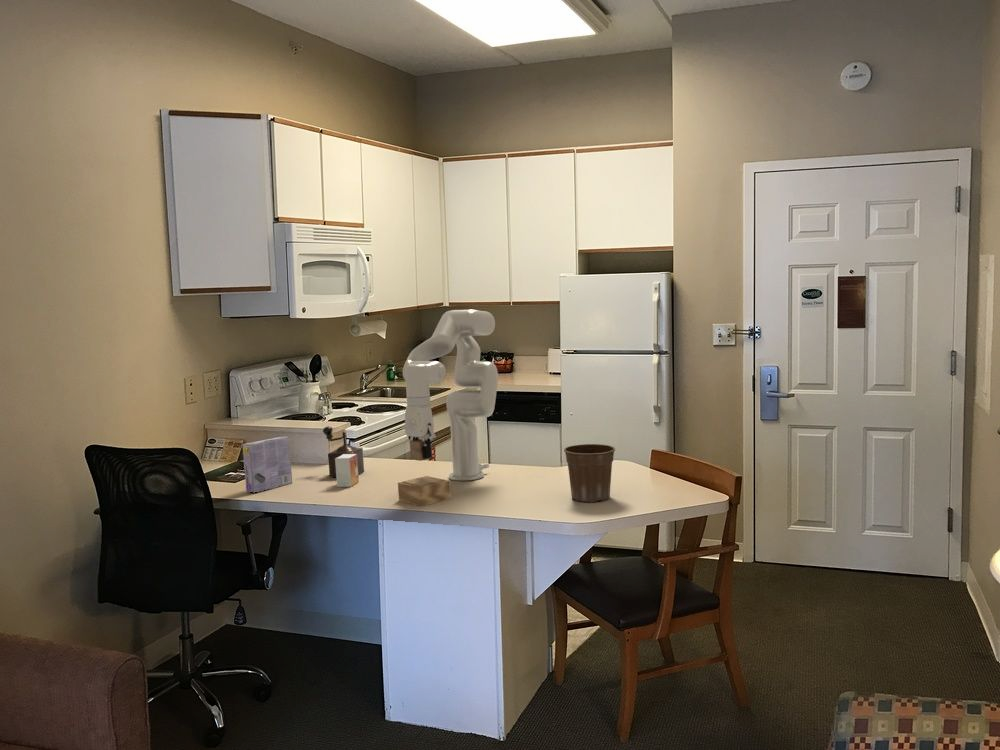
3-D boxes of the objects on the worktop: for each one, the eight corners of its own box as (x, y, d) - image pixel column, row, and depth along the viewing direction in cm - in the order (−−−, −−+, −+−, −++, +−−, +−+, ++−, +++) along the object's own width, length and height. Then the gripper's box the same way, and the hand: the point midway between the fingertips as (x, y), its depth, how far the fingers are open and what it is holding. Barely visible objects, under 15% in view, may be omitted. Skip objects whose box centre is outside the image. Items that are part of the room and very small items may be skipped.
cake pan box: (286, 481, 338) (282, 434, 337) (295, 482, 336) (292, 435, 334) (244, 493, 323) (240, 443, 321) (254, 494, 320) (250, 444, 318)
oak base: (427, 493, 308) (426, 475, 307) (450, 498, 299) (449, 479, 298) (398, 500, 300) (397, 481, 299) (421, 506, 291) (419, 486, 290)
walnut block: (422, 456, 301) (421, 438, 301) (432, 458, 298) (431, 439, 297) (410, 458, 298) (409, 440, 297) (420, 460, 294) (419, 442, 294)
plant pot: (619, 492, 297) (617, 443, 295) (614, 504, 281) (612, 453, 279) (570, 491, 300) (567, 443, 298) (562, 504, 285) (560, 453, 283)
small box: (351, 487, 323) (349, 458, 322) (336, 487, 325) (334, 458, 323) (359, 482, 331) (357, 453, 330) (344, 482, 332) (342, 453, 331)
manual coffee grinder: (366, 471, 349) (362, 425, 347) (354, 477, 339) (351, 430, 337) (328, 471, 353) (325, 425, 351) (316, 477, 342) (312, 430, 340)
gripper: (393, 401, 300) (397, 456, 302) (425, 405, 287) (428, 461, 289) (412, 398, 305) (415, 452, 307) (443, 402, 292) (447, 458, 294)
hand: (421, 456), depth 298 cm, fingers closed on walnut block, 5 cm apart
